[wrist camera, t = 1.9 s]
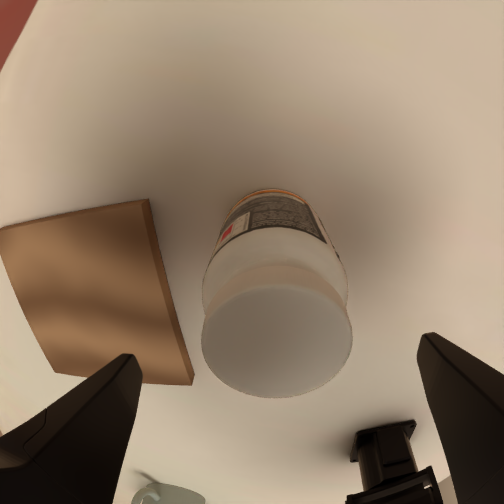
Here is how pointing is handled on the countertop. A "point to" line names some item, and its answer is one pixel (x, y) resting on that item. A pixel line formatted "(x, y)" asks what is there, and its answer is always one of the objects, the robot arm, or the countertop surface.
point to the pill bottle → (275, 299)
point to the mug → (166, 495)
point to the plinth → (97, 291)
